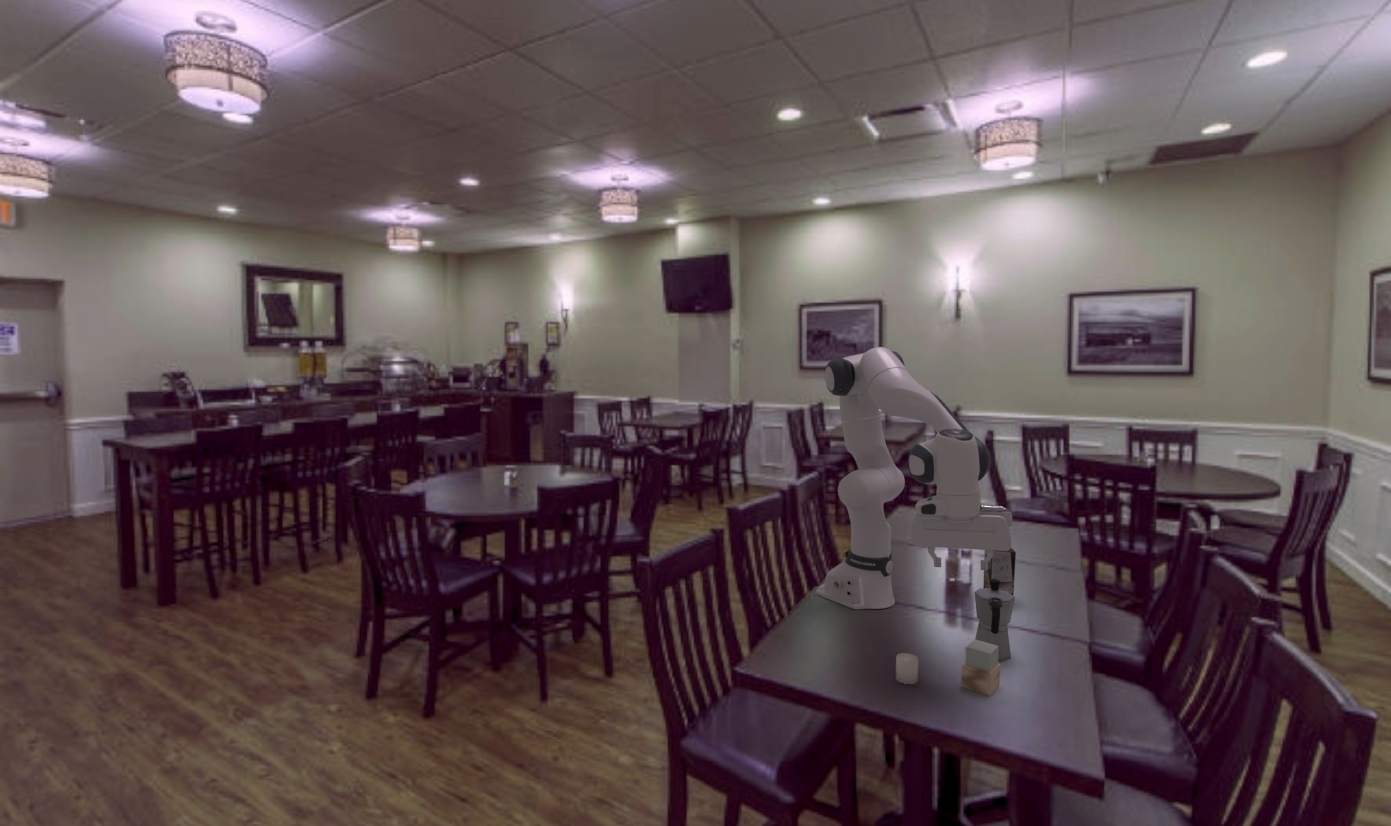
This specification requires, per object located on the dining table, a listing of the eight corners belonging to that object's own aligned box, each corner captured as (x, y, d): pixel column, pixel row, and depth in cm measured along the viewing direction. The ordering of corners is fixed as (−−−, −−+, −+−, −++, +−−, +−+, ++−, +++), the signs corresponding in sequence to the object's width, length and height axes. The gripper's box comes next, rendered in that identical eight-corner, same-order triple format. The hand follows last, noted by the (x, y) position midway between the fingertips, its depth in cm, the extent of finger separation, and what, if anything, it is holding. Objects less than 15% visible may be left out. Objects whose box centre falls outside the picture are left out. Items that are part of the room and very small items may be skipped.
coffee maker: (971, 638, 165) (974, 569, 164) (1010, 644, 162) (1013, 573, 160) (972, 665, 151) (976, 589, 150) (1015, 672, 148) (1018, 594, 147)
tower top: (965, 664, 142) (966, 646, 141) (974, 656, 145) (974, 639, 145) (989, 672, 138) (990, 653, 138) (997, 663, 142) (998, 646, 142)
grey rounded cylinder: (892, 680, 145) (892, 658, 144) (901, 672, 148) (901, 651, 148) (912, 687, 142) (913, 664, 141) (921, 679, 145) (921, 657, 145)
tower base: (961, 686, 142) (961, 664, 142) (971, 676, 146) (972, 655, 146) (990, 696, 138) (991, 673, 138) (999, 686, 142) (1000, 663, 142)
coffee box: (1013, 608, 185) (1016, 552, 183) (989, 606, 186) (991, 550, 185) (1005, 596, 194) (1008, 542, 192) (982, 594, 195) (984, 541, 194)
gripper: (1011, 503, 140) (1013, 566, 141) (911, 500, 149) (913, 560, 150) (1012, 509, 135) (1014, 575, 136) (908, 506, 143) (910, 569, 144)
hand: (960, 567), depth 143 cm, fingers open, 8 cm apart
